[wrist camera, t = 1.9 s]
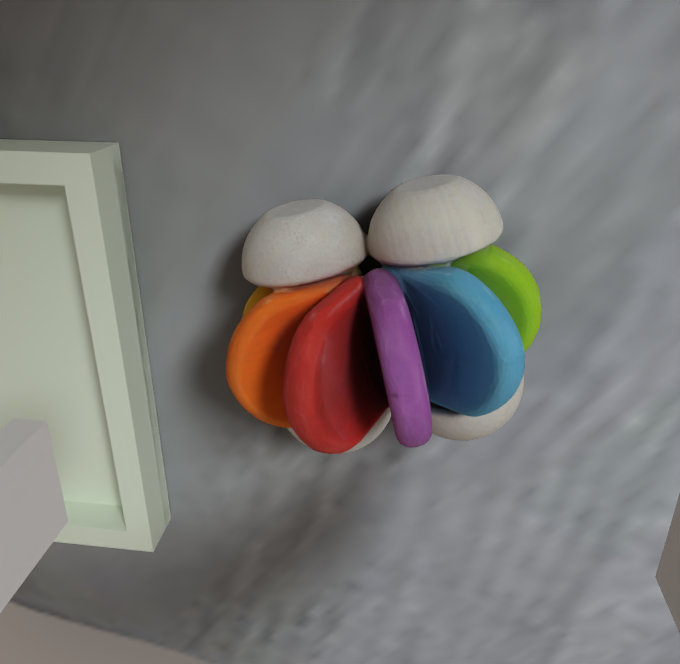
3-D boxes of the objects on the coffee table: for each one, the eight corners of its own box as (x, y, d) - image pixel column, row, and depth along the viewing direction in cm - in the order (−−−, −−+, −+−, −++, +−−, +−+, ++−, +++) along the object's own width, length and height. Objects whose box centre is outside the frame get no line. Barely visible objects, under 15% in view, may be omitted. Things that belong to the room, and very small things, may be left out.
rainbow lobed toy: (225, 205, 22) (137, 282, 15) (518, 150, 20) (562, 211, 13) (285, 415, 25) (234, 552, 18) (540, 386, 23) (584, 528, 16)
